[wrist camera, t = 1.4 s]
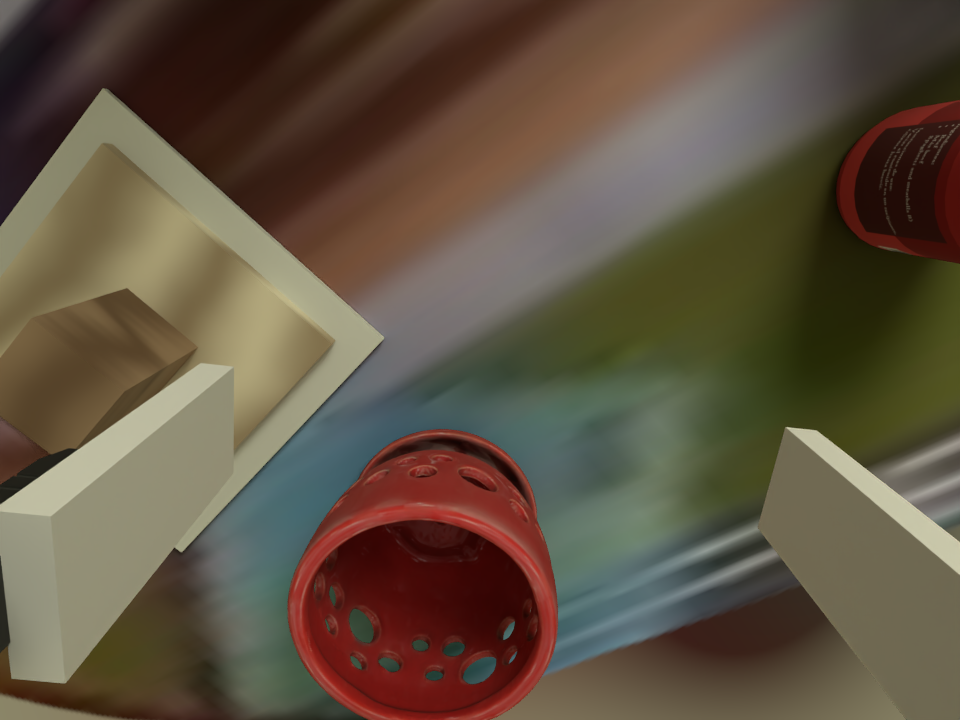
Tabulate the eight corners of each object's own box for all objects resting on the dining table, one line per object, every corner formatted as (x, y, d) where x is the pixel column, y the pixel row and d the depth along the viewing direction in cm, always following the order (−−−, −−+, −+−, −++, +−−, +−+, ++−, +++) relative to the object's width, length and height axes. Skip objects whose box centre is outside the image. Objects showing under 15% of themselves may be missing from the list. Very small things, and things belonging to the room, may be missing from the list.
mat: (-83, 346, 39) (-90, 348, 38) (108, 89, 35) (102, 88, 34) (184, 548, 42) (181, 552, 42) (384, 337, 38) (383, 339, 38)
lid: (-43, 347, 38) (-197, 397, 29) (112, 143, 35) (-9, 132, 26) (175, 513, 41) (93, 603, 32) (335, 340, 38) (292, 388, 29)
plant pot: (431, 368, 39) (411, 449, 27) (581, 502, 42) (619, 627, 30) (296, 507, 42) (226, 634, 30) (444, 625, 44) (431, 784, 33)
